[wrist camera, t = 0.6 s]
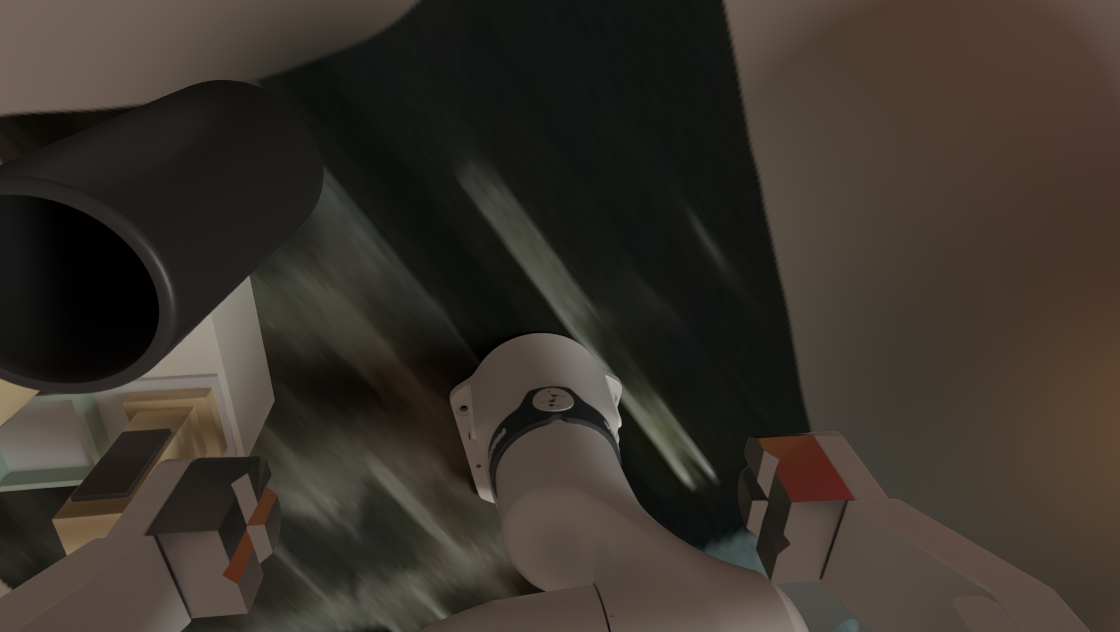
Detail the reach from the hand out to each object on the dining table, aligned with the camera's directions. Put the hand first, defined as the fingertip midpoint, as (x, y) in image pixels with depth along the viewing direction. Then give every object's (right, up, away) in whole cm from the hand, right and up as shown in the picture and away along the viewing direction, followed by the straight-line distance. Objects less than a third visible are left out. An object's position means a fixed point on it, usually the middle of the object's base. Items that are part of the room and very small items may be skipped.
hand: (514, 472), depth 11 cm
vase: (-27, +16, +43) cm, 53 cm away
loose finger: (-31, -6, +40) cm, 51 cm away
